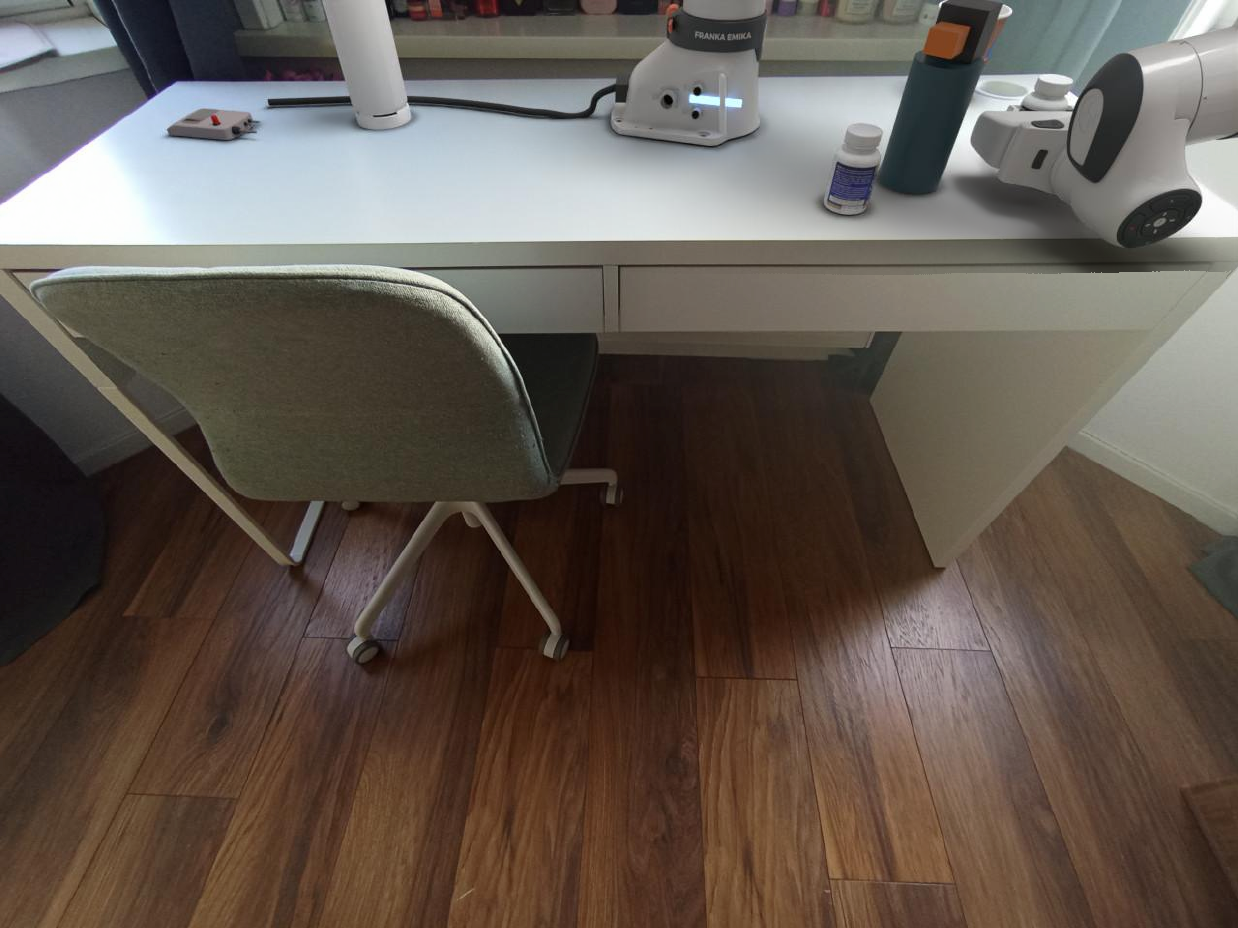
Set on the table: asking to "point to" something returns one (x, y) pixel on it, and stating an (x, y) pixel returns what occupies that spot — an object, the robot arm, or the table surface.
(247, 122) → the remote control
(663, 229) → the table surface
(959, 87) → the sports bottle
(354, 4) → the bottle
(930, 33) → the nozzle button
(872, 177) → the pill bottle
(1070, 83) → the pill bottle
